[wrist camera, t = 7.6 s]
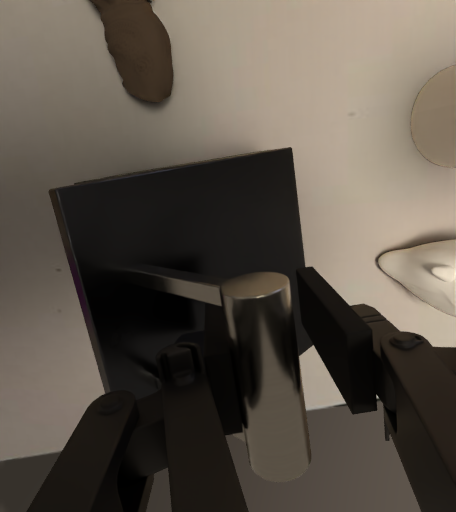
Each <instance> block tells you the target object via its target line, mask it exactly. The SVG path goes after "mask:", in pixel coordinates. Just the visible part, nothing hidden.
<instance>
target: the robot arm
mask: <svg viewBox="0 0 456 512" xmlns="http://www.w3.org/2000/svg"><path fill="white" fill-rule="evenodd" d="M296 277H297V286H298V295H299V304H300V313H301V322H302V325H303V327H304V329H305V330H306V332H307V334H308V336H309V338H310V339H311V341H312V343H313V345H314V346H315V348H316V350H317V352H318V354H319V355H320V357H321V359H322V361H323V362H324V364H325V366H326V368H327V370H328V371H329V373H330V375H331V377H332V379H333V380H334V382H335V384H336V386H337V387H338V389H339V391H340V393H341V395H342V396H343V398H344V400H345V402H346V403H347V405H348V407H349V409H350V411H351V412H352V414H358V413H365V412H371V411H377V400H376V394H377V396H378V397H379V398H380V400H381V401H382V403H383V408H384V424H385V425H384V426H385V439H386V441H389V435H390V434H391V437H392V439H393V442H394V444H395V447H396V449H397V452H398V454H399V457H400V459H401V462H402V464H403V467H404V469H405V472H406V474H407V477H408V479H409V482H410V484H411V487H412V489H413V492H414V494H415V497H416V499H417V502H418V504H419V506H420V509H421V512H456V348H455V347H432V345H431V344H430V343H429V342H428V340H427V339H425V338H424V337H423V336H421V335H418V334H415V333H411V332H400V331H399V330H398V329H397V328H396V327H395V326H394V325H393V324H392V323H390V322H389V321H388V320H386V318H385V317H384V316H383V315H381V314H380V313H379V312H378V311H377V310H376V309H375V308H373V307H370V306H368V305H365V304H359V305H352V306H349V305H348V304H347V303H346V301H345V300H344V299H343V298H342V297H341V296H340V295H339V294H338V293H337V292H336V291H335V290H334V289H333V288H332V287H331V286H330V285H329V284H328V283H327V282H326V281H325V280H324V279H323V277H322V276H321V275H320V274H319V273H318V272H317V271H316V270H315V269H314V268H313V267H306V268H300V269H296ZM155 359H156V364H157V368H158V373H159V377H160V381H161V389H160V390H158V391H157V392H155V393H154V394H151V395H149V396H147V397H144V398H141V399H138V400H136V399H135V396H134V395H133V393H132V392H129V391H127V390H118V391H113V392H108V393H106V394H104V395H102V396H100V397H99V398H97V399H96V400H94V401H93V402H92V403H91V404H90V406H89V407H88V408H87V410H86V411H85V413H84V415H83V416H82V418H81V420H80V422H79V423H78V425H77V427H76V428H75V430H74V432H73V433H72V435H71V437H70V439H69V440H68V442H67V444H66V445H65V447H64V449H63V450H62V452H61V454H60V456H59V457H58V459H57V461H56V462H55V464H54V466H53V467H52V469H51V471H50V473H49V474H48V476H47V478H46V479H45V481H44V483H43V484H42V486H41V488H40V490H39V491H38V493H37V495H36V496H35V498H34V500H33V501H32V503H31V505H30V507H29V508H28V510H27V512H146V508H147V504H148V500H149V497H150V492H151V489H152V485H153V480H154V473H156V472H158V471H161V470H163V469H165V468H168V471H169V482H170V495H171V507H172V512H248V508H247V506H246V502H245V499H244V496H243V492H242V489H241V486H240V483H239V479H238V476H237V473H236V470H235V466H234V463H233V460H232V457H231V453H230V450H229V447H228V444H227V441H226V437H225V435H230V434H237V433H243V427H242V419H241V412H240V407H239V401H238V395H237V390H236V384H235V378H234V373H233V367H232V361H231V355H230V349H229V345H228V339H227V333H226V328H225V322H224V316H223V311H222V307H220V306H216V305H212V304H208V303H205V326H204V331H198V332H192V333H186V334H182V335H181V336H180V337H179V338H178V339H177V340H176V342H175V344H172V345H169V346H167V347H165V348H163V349H162V350H160V351H159V352H158V353H157V355H156V358H155Z"/></svg>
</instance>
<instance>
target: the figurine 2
mask: <svg viewBox="0 0 456 512" xmlns="http://www.w3.org/2000/svg"><path fill="white" fill-rule="evenodd" d="M90 1H91V2H93V3H94V5H95V6H96V8H97V9H98V10H99V12H100V13H101V20H102V22H103V24H104V27H105V40H106V42H107V44H108V50H109V53H110V54H111V55H112V56H113V57H114V59H115V63H116V67H117V70H118V72H119V74H120V75H121V77H122V79H123V83H122V84H123V86H124V87H125V89H126V90H127V91H128V92H129V93H131V94H132V95H134V96H136V97H138V98H140V99H143V100H145V101H151V102H161V101H163V99H165V98H167V97H169V96H170V94H171V90H172V84H173V67H172V56H171V44H170V39H169V35H168V33H167V31H166V29H165V27H164V25H163V24H162V22H161V21H160V20H159V18H158V17H157V16H156V15H155V14H154V13H153V11H152V7H151V4H150V3H148V2H146V1H147V0H90Z"/></svg>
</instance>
